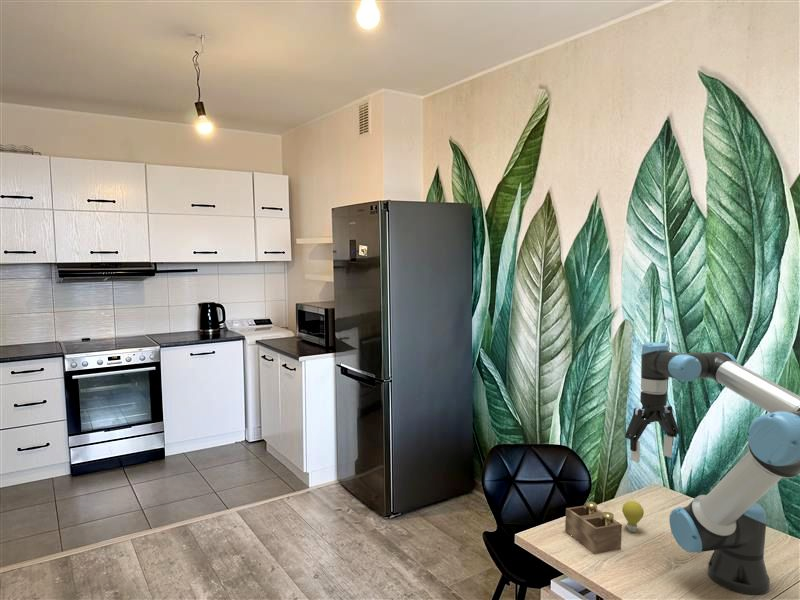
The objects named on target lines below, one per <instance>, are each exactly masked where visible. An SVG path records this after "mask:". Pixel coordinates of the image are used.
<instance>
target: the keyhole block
mask: <svg viewBox="0 0 800 600" xmlns="http://www.w3.org/2000/svg"><path fill="white" fill-rule="evenodd" d="M603 512H604V511H602V510H600V509H599V508H597V509H596V510H594V512H591V514H590V515H589V509H587V508H586V504H585V505H580V506H573V507H566V508H565V521H564V522H565V524H564V525H565V526H564V527H565V528H564V532H565V531H566V532H567V533H566V532H565V533H566V534H568V533H569V534H570V535H572V536H573V537H574V538H575V539H576V540H575V539H574V538H573V537H572V536H571V537H572V538H573V539H574V540H575V541H577V542H578V541H579V542H580V543H579V542H578V543H579V544H581V545H582V546H583V545H584V546H583V547H584V548H586V549H588V550H589V551H590V552H591V553H592V554H594V555H597V554H602V553H607V552H612V551H619V550H622V535H623V534H622V532H623V524H622V523H620V522H619V521H618V520H616V519H614V520H613V521H610V523H608V524H607V526H605V520H604V519H603V518H602V513H603ZM569 534H568V535H569ZM570 535H569V536H570Z"/></svg>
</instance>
